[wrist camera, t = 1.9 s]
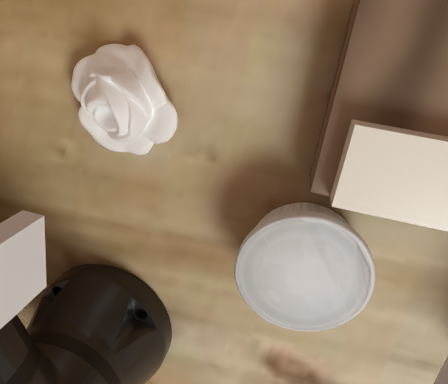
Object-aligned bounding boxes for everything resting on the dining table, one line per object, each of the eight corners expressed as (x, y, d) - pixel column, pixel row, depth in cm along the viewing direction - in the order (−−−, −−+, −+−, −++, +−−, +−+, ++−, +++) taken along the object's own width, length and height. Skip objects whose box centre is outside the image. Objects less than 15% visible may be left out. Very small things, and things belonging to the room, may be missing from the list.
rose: (182, 70, 28) (150, 184, 31) (198, 67, 32) (168, 168, 36) (59, 22, 28) (43, 140, 32) (90, 25, 32) (72, 130, 36)
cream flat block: (330, 196, 29) (331, 206, 27) (351, 119, 27) (355, 124, 25) (453, 222, 28) (463, 234, 26) (487, 144, 25) (501, 151, 24)
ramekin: (393, 236, 33) (407, 268, 28) (316, 315, 38) (318, 355, 33) (287, 167, 33) (284, 188, 28) (223, 255, 38) (210, 286, 33)
